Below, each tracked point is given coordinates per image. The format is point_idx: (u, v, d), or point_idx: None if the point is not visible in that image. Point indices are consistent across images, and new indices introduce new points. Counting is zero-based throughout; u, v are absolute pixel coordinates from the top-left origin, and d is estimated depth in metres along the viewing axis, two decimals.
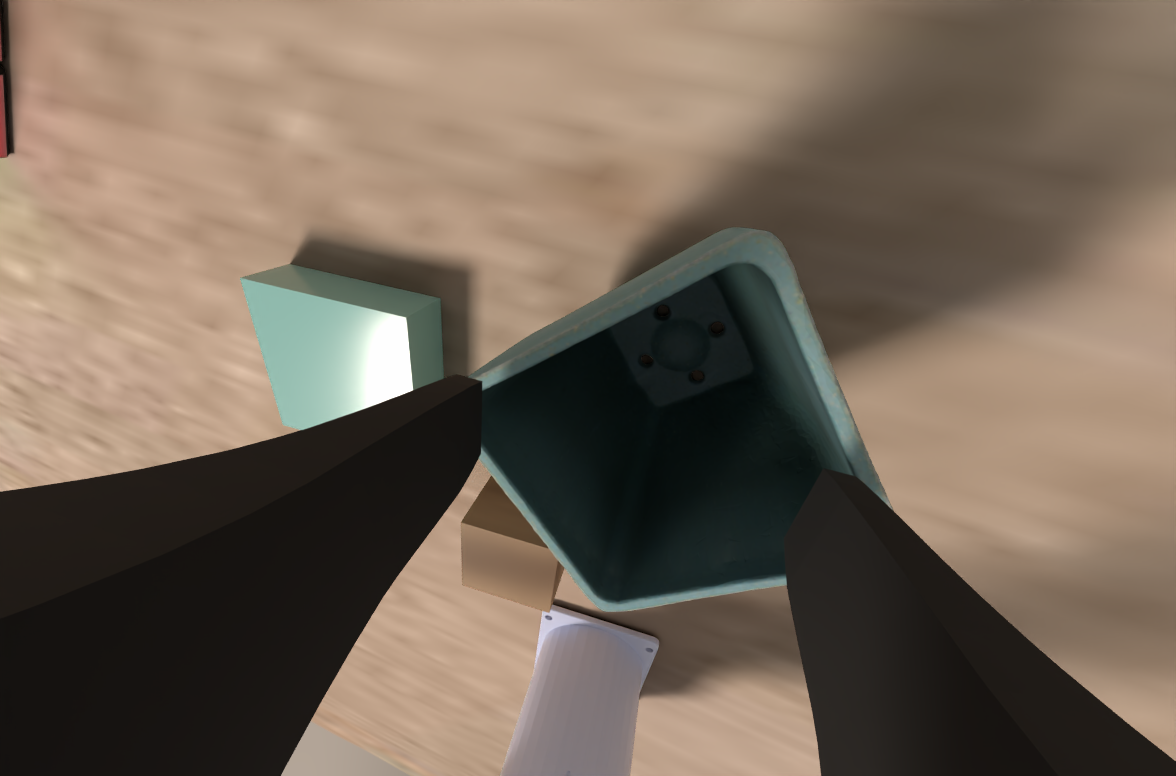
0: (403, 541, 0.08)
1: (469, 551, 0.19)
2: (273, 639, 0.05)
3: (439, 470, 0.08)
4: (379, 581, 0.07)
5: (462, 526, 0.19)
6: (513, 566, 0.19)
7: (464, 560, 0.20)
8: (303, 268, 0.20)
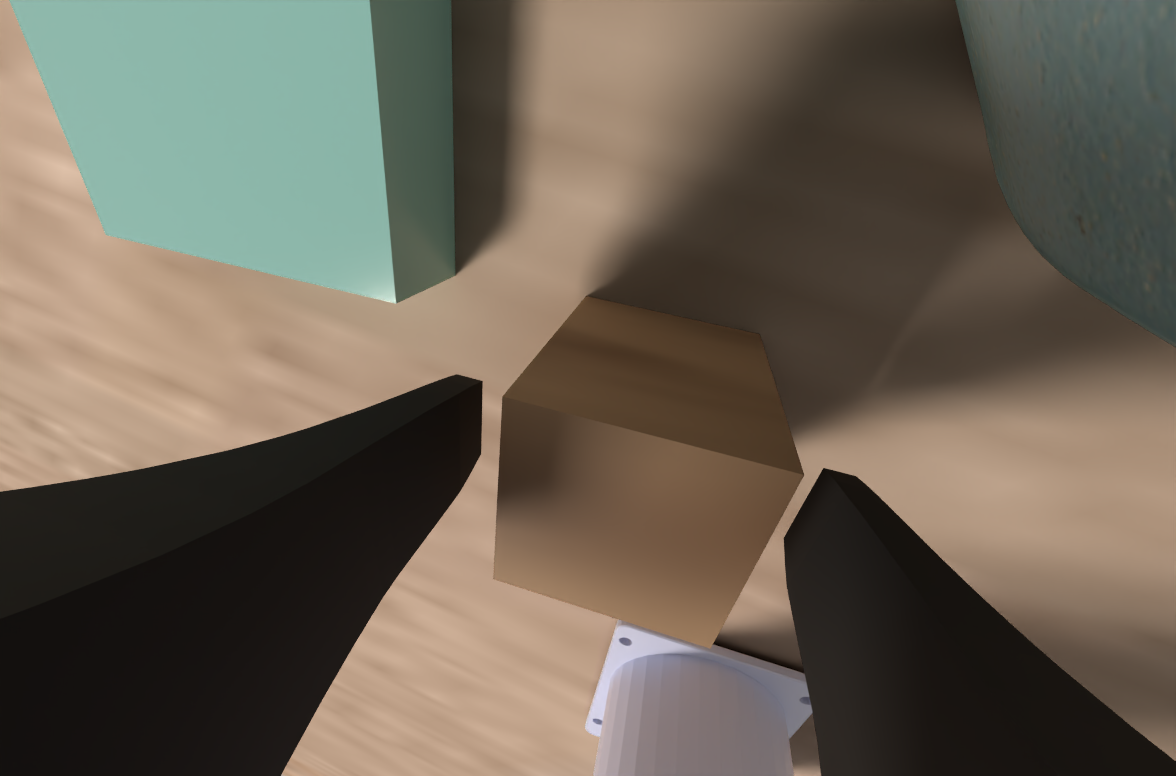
0: (403, 541, 0.08)
1: (519, 488, 0.07)
2: (273, 639, 0.05)
3: (439, 470, 0.08)
4: (379, 581, 0.07)
5: (506, 409, 0.07)
6: (640, 526, 0.07)
7: (503, 514, 0.08)
8: None
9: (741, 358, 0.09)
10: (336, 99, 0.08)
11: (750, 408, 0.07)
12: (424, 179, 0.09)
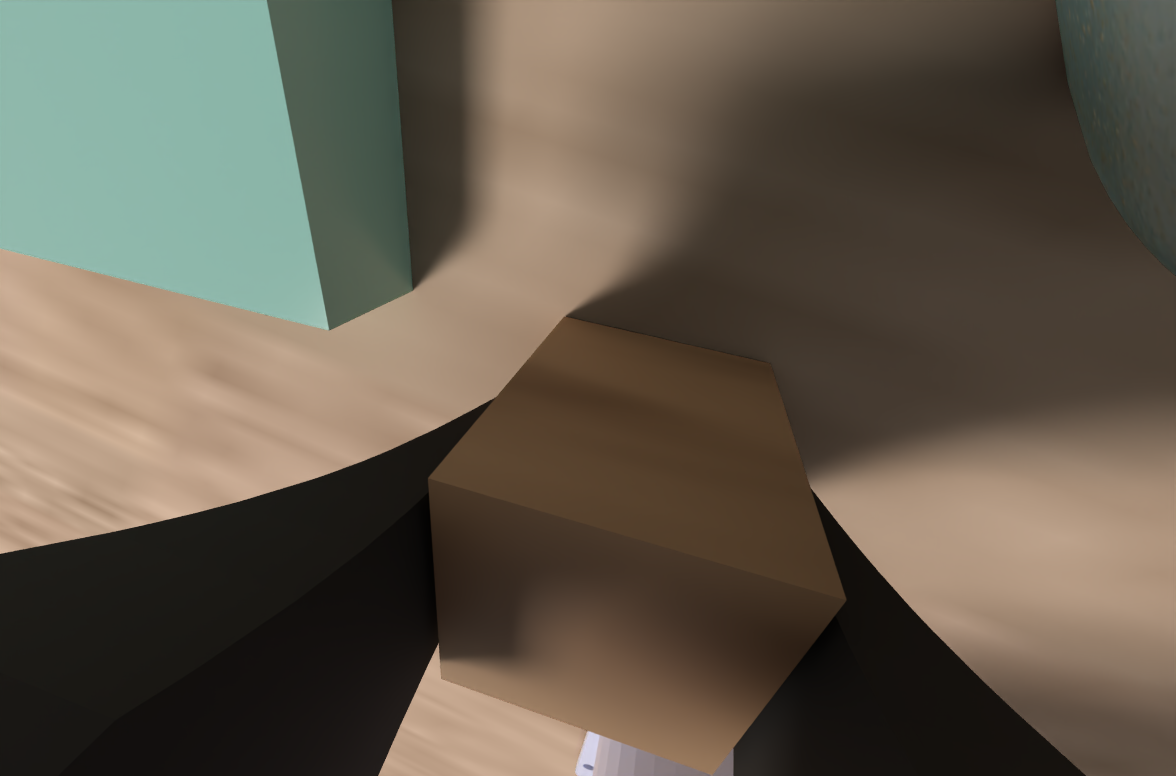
0: None
1: (461, 585, 0.06)
2: (368, 673, 0.05)
3: None
4: None
5: (434, 494, 0.05)
6: (620, 640, 0.05)
7: (445, 613, 0.06)
8: None
9: (751, 401, 0.07)
10: (229, 77, 0.06)
11: (764, 481, 0.06)
12: (361, 178, 0.08)
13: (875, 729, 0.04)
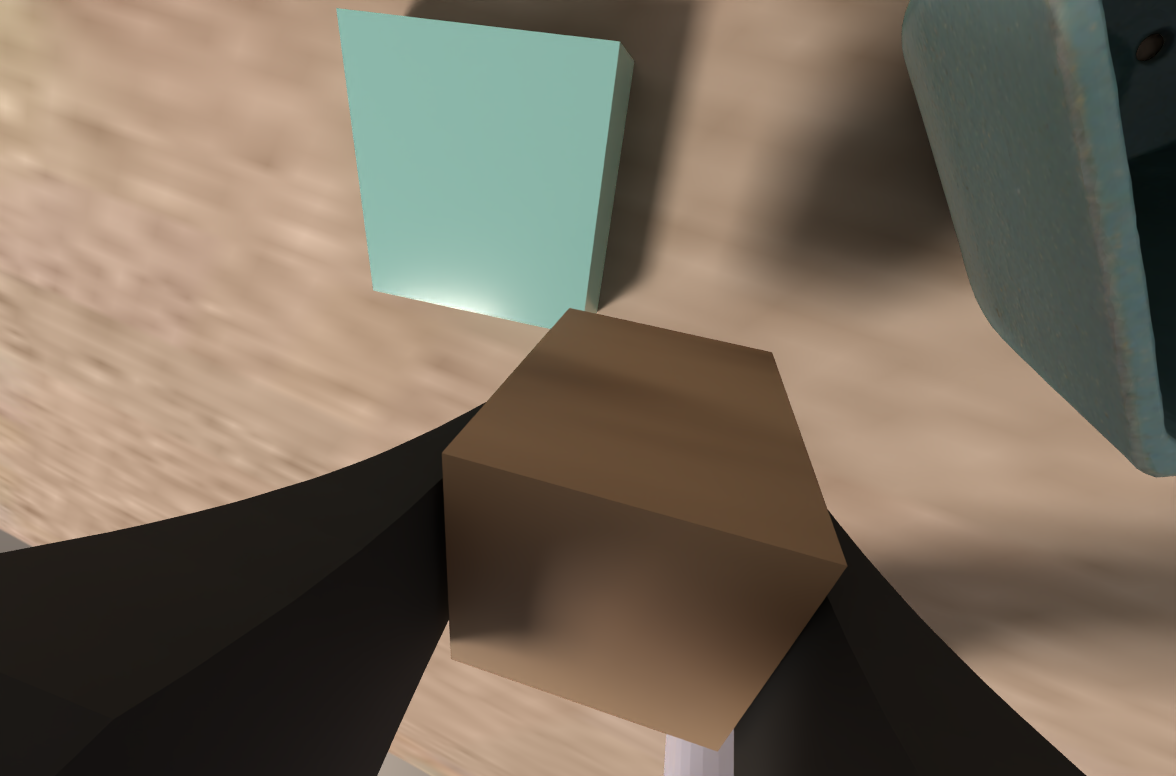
0: None
1: (473, 561, 0.06)
2: (367, 673, 0.05)
3: None
4: None
5: (447, 469, 0.05)
6: (627, 614, 0.06)
7: (456, 590, 0.06)
8: None
9: (753, 386, 0.07)
10: (568, 217, 0.13)
11: (766, 459, 0.06)
12: (599, 254, 0.14)
13: (877, 731, 0.04)
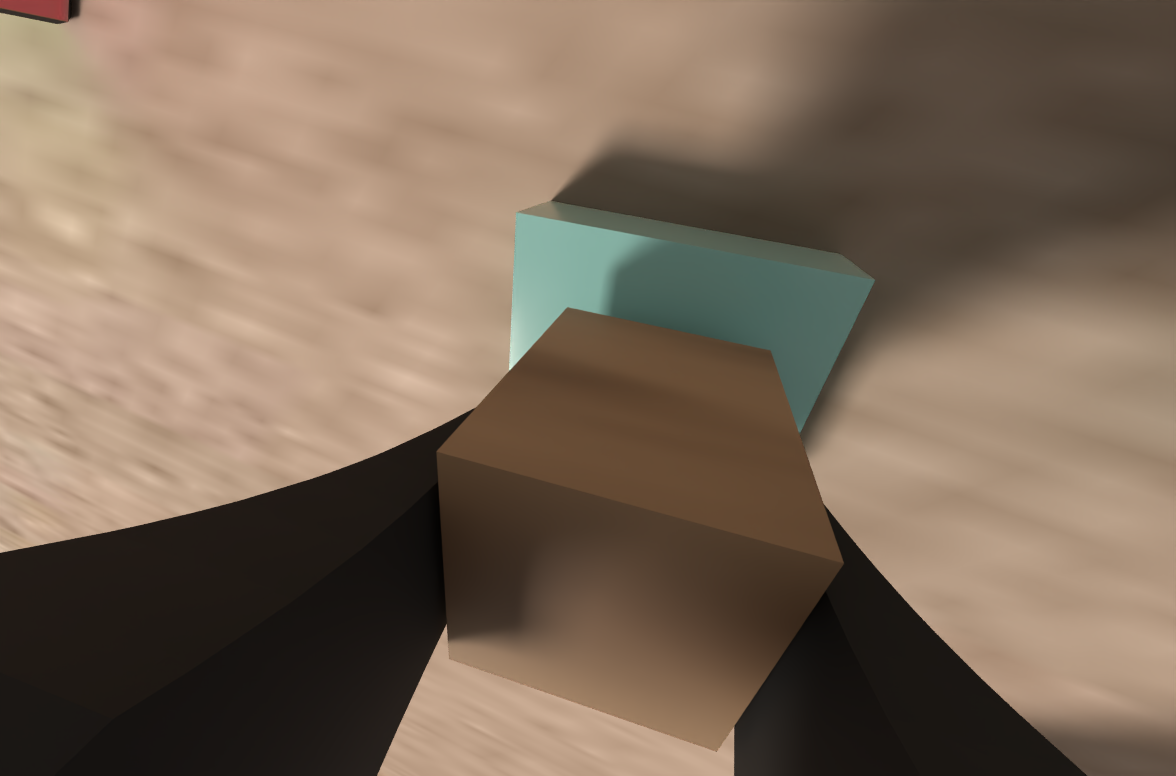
0: None
1: (469, 561, 0.06)
2: (367, 673, 0.05)
3: None
4: None
5: (442, 468, 0.05)
6: (623, 613, 0.05)
7: (453, 590, 0.06)
8: (579, 206, 0.12)
9: (751, 384, 0.07)
10: None
11: (764, 457, 0.06)
12: None
13: (878, 731, 0.04)
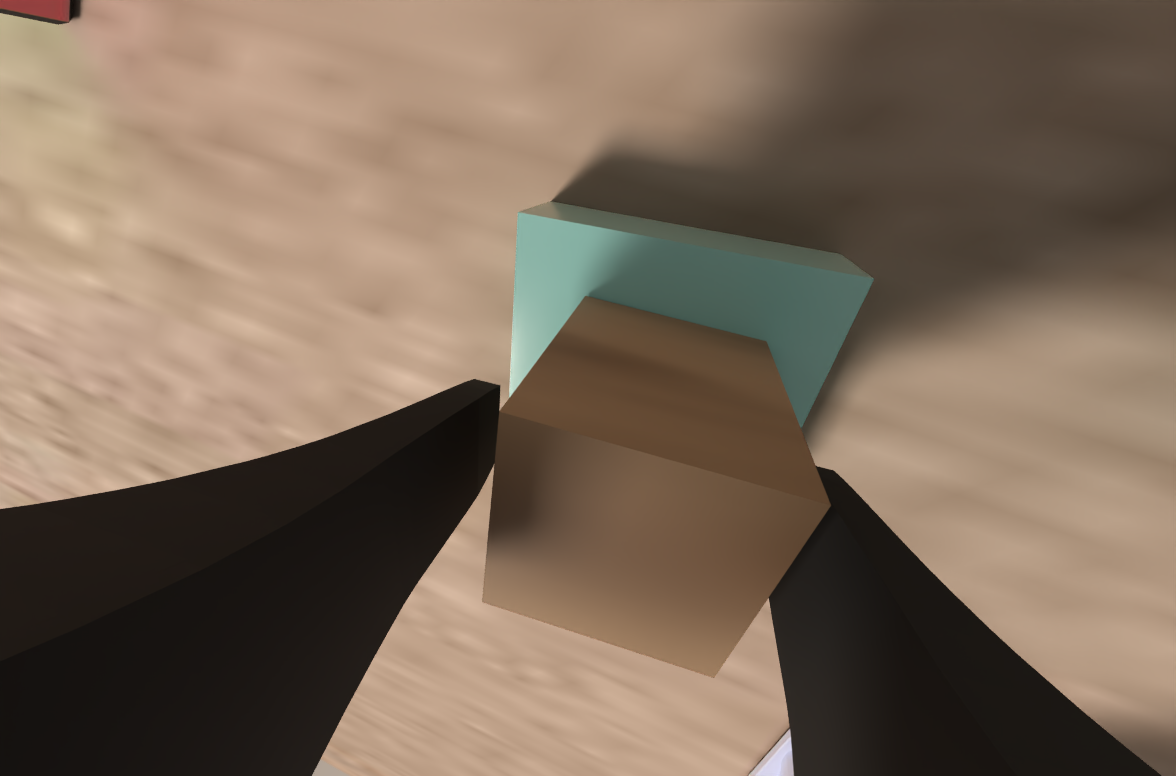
0: (424, 547, 0.08)
1: (514, 509, 0.07)
2: (303, 650, 0.05)
3: (458, 476, 0.08)
4: (400, 588, 0.07)
5: (502, 426, 0.06)
6: (646, 553, 0.07)
7: (496, 536, 0.07)
8: (580, 207, 0.12)
9: (751, 369, 0.09)
10: None
11: (765, 426, 0.07)
12: None
13: (987, 766, 0.03)
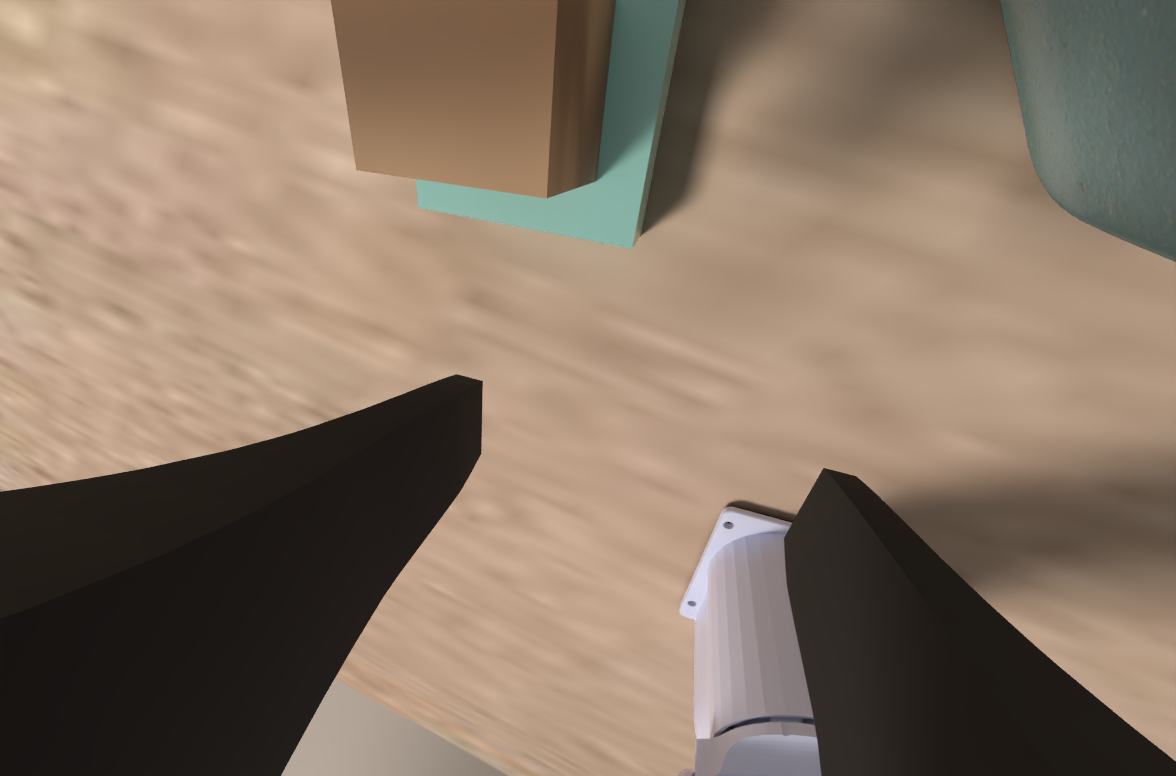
0: (403, 541, 0.08)
1: (351, 15, 0.08)
2: (273, 639, 0.05)
3: (439, 470, 0.08)
4: (379, 581, 0.07)
5: None
6: (455, 32, 0.08)
7: (346, 62, 0.09)
8: None
9: None
10: (627, 118, 0.13)
11: None
12: (651, 166, 0.14)
13: None
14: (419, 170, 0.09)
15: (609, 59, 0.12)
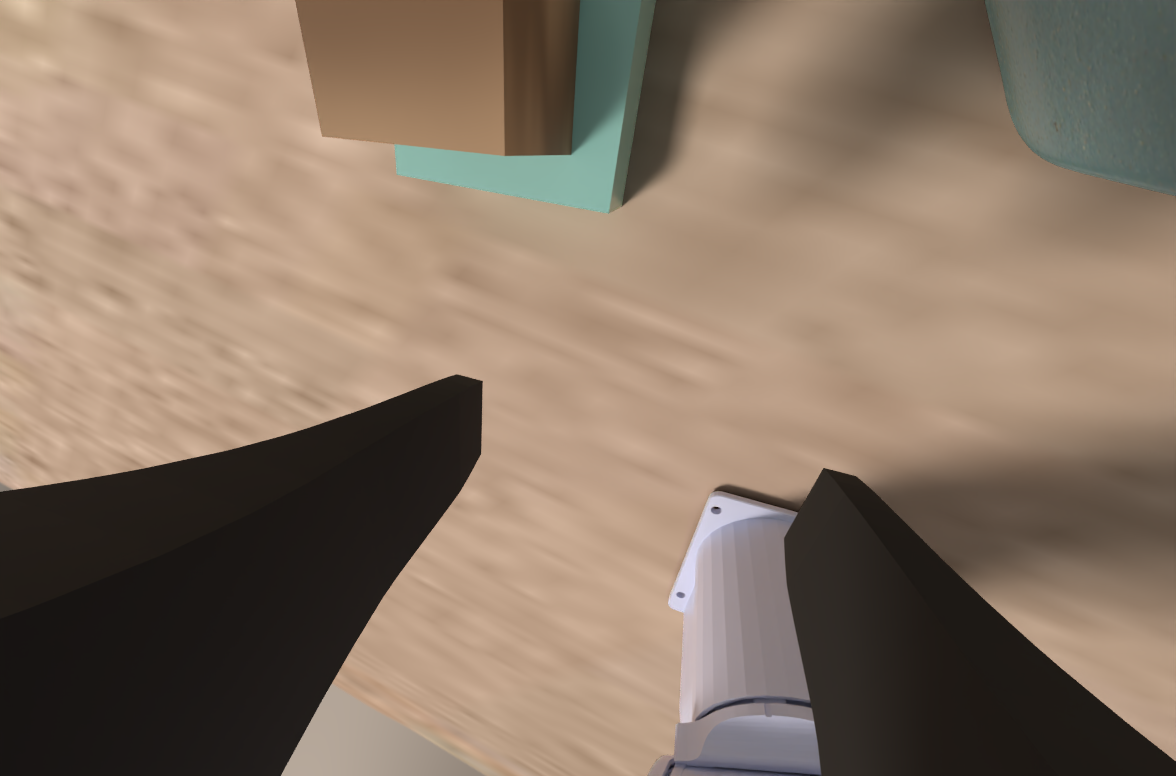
0: (403, 541, 0.08)
1: None
2: (273, 639, 0.05)
3: (439, 470, 0.08)
4: (379, 581, 0.07)
5: None
6: None
7: (306, 27, 0.09)
8: None
9: None
10: (600, 76, 0.13)
11: None
12: (628, 131, 0.14)
13: None
14: (381, 133, 0.09)
15: None
